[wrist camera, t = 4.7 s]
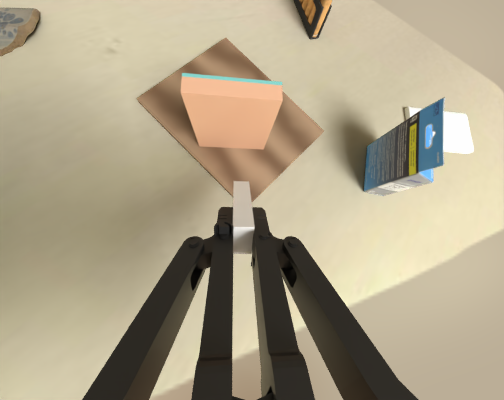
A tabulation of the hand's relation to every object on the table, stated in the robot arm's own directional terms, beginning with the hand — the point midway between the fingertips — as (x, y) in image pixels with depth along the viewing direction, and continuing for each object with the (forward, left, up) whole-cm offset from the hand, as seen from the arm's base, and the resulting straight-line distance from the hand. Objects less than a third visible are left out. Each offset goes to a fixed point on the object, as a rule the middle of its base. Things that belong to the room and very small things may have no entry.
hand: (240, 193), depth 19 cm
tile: (+7, +8, -9) cm, 14 cm away
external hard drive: (+38, -16, -11) cm, 42 cm away
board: (+10, +11, -10) cm, 18 cm away
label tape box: (+22, -12, -10) cm, 27 cm away
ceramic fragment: (-7, +45, -11) cm, 47 cm away
